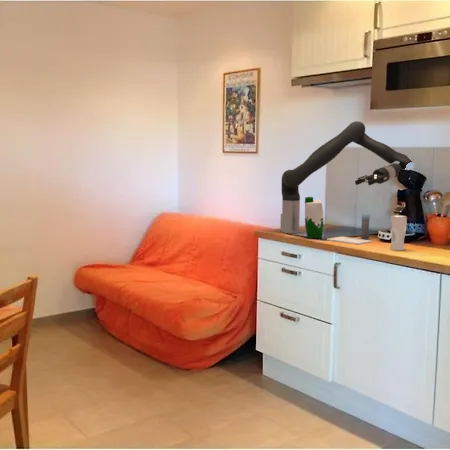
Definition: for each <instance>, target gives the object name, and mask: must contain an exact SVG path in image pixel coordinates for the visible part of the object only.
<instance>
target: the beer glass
mask: <svg viewBox="0 0 450 450" xmlns="http://www.w3.org/2000/svg"><path fill="white" fill-rule="evenodd" d="M407 219H408V217H407V216H406V215H402V214H397V215H394V214H393V215H391V216H390V222H389V223H390V225H389V229H390V236H391V238H390V239H391V242H390V243H391V244H390V250H392V251H405V236H406V233H407V227H408V226H407V225H408V224H407V222H408V220H407Z"/></svg>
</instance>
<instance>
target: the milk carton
mask: <svg viewBox="0 0 450 450" xmlns="http://www.w3.org/2000/svg"><path fill="white" fill-rule="evenodd" d="M304 224H305V225H304V226H305V233H306V236H307V239H321V238H323V233H324V209H323V203H322V200H321V199H314V197H313V196H307V197H304Z"/></svg>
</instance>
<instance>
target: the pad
mask: <svg viewBox="0 0 450 450" xmlns="http://www.w3.org/2000/svg"><path fill="white" fill-rule="evenodd" d="M326 240H327V241H330V240H331V242H337V243H338V242H339V243H343V244H350V245H364V244H369V243H373V240H370V239H369V240H364V239H361V238H355V237H350V236H335V237H331V238H326Z"/></svg>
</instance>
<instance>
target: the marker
mask: <svg viewBox="0 0 450 450" xmlns="http://www.w3.org/2000/svg"><path fill="white" fill-rule="evenodd" d="M370 217H371V216H370V214H369V213H362V214H361V229H360V230H361V234H360V239H364V240H370V239H369V235H370Z"/></svg>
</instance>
